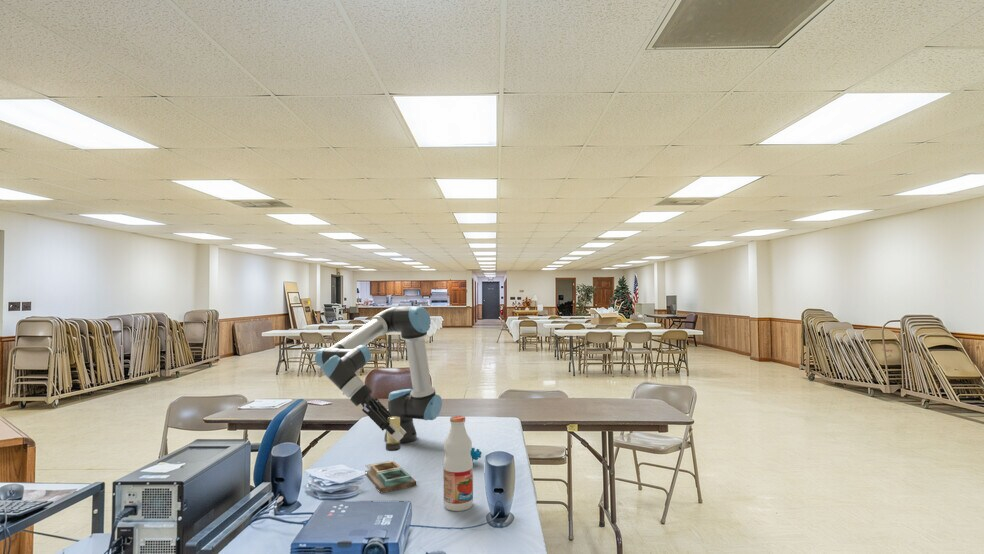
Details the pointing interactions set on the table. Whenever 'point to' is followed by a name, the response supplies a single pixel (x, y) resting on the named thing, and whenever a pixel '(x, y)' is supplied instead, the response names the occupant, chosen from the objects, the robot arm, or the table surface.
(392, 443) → the gold metal cylinder
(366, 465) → the mat
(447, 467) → the fruit juice
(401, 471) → the brown wooden flat tray
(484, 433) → the table surface
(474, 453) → the gear
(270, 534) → the table surface
